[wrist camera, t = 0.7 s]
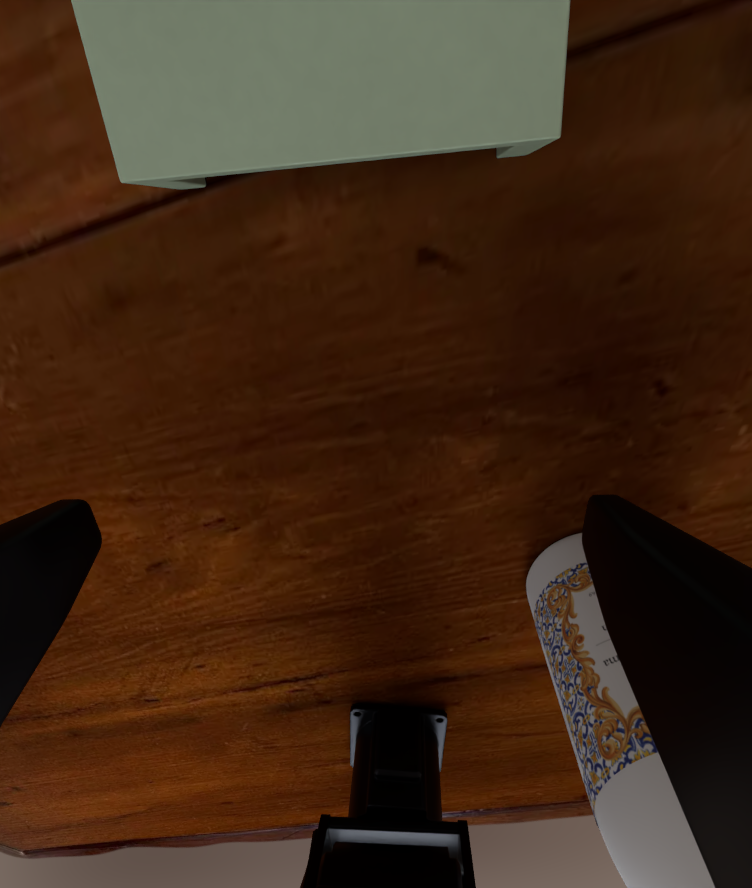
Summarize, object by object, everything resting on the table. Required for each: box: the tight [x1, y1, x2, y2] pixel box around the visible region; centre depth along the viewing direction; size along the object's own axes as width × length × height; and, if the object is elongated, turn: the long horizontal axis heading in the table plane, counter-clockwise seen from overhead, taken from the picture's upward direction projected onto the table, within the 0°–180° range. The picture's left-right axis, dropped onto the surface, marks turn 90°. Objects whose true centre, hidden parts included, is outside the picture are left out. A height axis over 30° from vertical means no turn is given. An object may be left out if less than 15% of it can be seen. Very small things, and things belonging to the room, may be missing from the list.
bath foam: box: [526, 533, 715, 888], centre depth 18 cm, size 7×7×20 cm
